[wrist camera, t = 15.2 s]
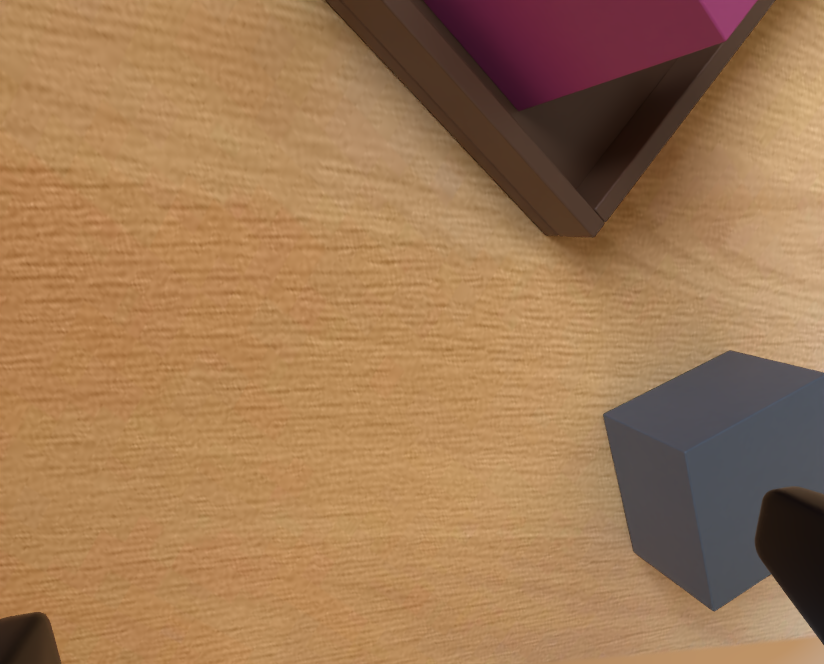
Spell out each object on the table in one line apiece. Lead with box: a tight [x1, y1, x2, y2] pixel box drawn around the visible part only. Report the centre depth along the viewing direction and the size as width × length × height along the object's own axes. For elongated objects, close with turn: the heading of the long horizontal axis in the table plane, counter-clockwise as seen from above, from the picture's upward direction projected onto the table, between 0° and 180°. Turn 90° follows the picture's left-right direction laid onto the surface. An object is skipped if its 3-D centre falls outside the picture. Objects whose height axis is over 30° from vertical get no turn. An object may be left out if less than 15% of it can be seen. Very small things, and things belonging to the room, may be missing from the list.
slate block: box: [603, 351, 824, 611], centre depth 22 cm, size 6×6×4 cm
